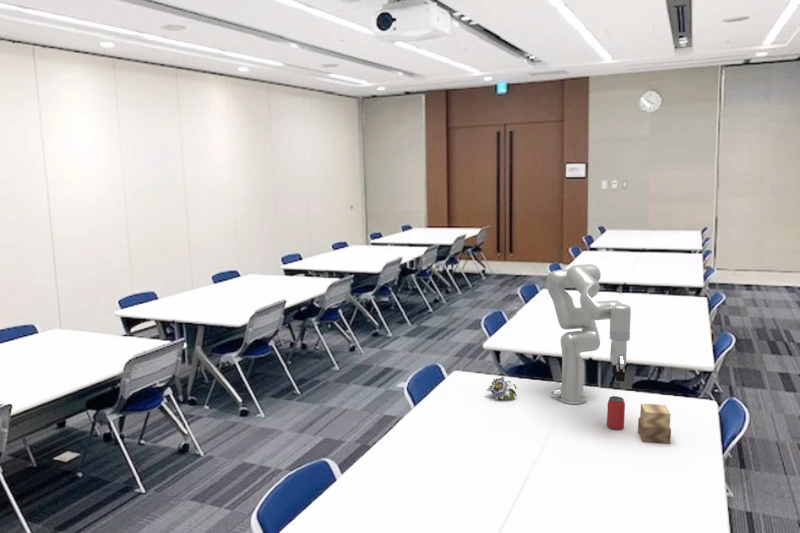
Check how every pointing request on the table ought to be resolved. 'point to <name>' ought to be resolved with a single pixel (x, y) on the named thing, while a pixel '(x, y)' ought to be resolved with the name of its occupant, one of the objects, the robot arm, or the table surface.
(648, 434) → the walnut block
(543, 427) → the table surface
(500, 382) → the passion flower
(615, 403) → the beer can
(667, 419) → the oak block
